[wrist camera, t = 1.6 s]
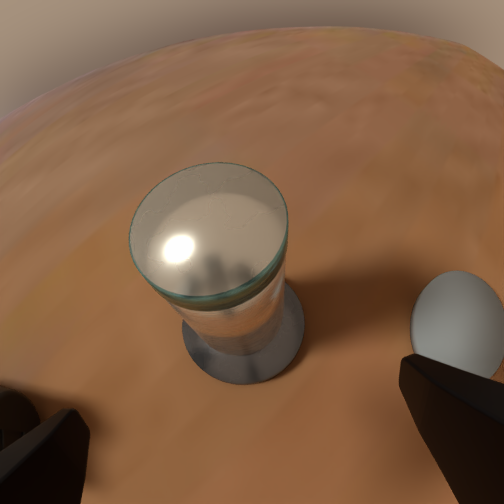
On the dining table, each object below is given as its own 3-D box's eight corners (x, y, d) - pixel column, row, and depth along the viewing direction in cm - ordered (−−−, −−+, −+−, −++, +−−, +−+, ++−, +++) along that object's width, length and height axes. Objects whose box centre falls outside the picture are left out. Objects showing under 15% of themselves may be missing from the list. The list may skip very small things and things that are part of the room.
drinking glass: (257, 372, 16) (235, 330, 8) (177, 329, 17) (100, 253, 9) (299, 292, 18) (313, 189, 10) (222, 258, 19) (186, 149, 12)
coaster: (487, 402, 15) (494, 400, 14) (393, 367, 18) (398, 365, 17) (506, 299, 19) (512, 294, 18) (424, 260, 21) (429, 253, 20)
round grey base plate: (269, 406, 17) (267, 405, 15) (164, 348, 20) (147, 337, 17) (322, 300, 21) (328, 282, 18) (222, 256, 23) (215, 234, 20)
